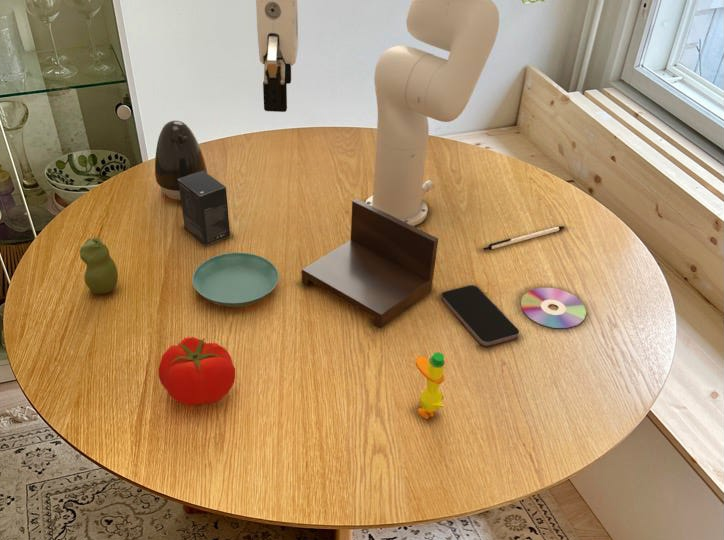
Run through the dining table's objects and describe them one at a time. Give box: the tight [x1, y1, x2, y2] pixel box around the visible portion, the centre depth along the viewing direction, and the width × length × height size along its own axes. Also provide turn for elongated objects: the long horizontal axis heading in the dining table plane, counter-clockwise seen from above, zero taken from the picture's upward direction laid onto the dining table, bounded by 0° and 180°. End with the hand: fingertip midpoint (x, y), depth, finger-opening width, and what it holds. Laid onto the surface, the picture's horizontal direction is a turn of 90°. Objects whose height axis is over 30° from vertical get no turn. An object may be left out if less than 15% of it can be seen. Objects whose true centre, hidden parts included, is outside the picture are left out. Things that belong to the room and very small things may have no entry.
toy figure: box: [414, 352, 446, 420], centre depth 106 cm, size 7×4×12 cm, turn 33°
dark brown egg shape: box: [154, 120, 208, 201], centre depth 147 cm, size 10×10×15 cm
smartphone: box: [440, 284, 520, 347], centre depth 127 cm, size 7×1×15 cm
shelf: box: [301, 198, 439, 330], centre depth 128 cm, size 14×18×11 cm
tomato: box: [158, 336, 236, 408], centre depth 109 cm, size 11×11×9 cm
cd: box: [520, 287, 587, 329], centre depth 129 cm, size 11×11×1 cm
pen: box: [483, 225, 566, 251], centre depth 144 cm, size 1×19×1 cm, turn 116°
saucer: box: [191, 252, 280, 308], centre depth 130 cm, size 15×15×3 cm
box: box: [178, 171, 231, 246], centre depth 139 cm, size 8×6×11 cm
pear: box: [79, 237, 119, 295], centre depth 125 cm, size 6×5×10 cm
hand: (278, 96), depth 110 cm, fingers open, 9 cm apart
